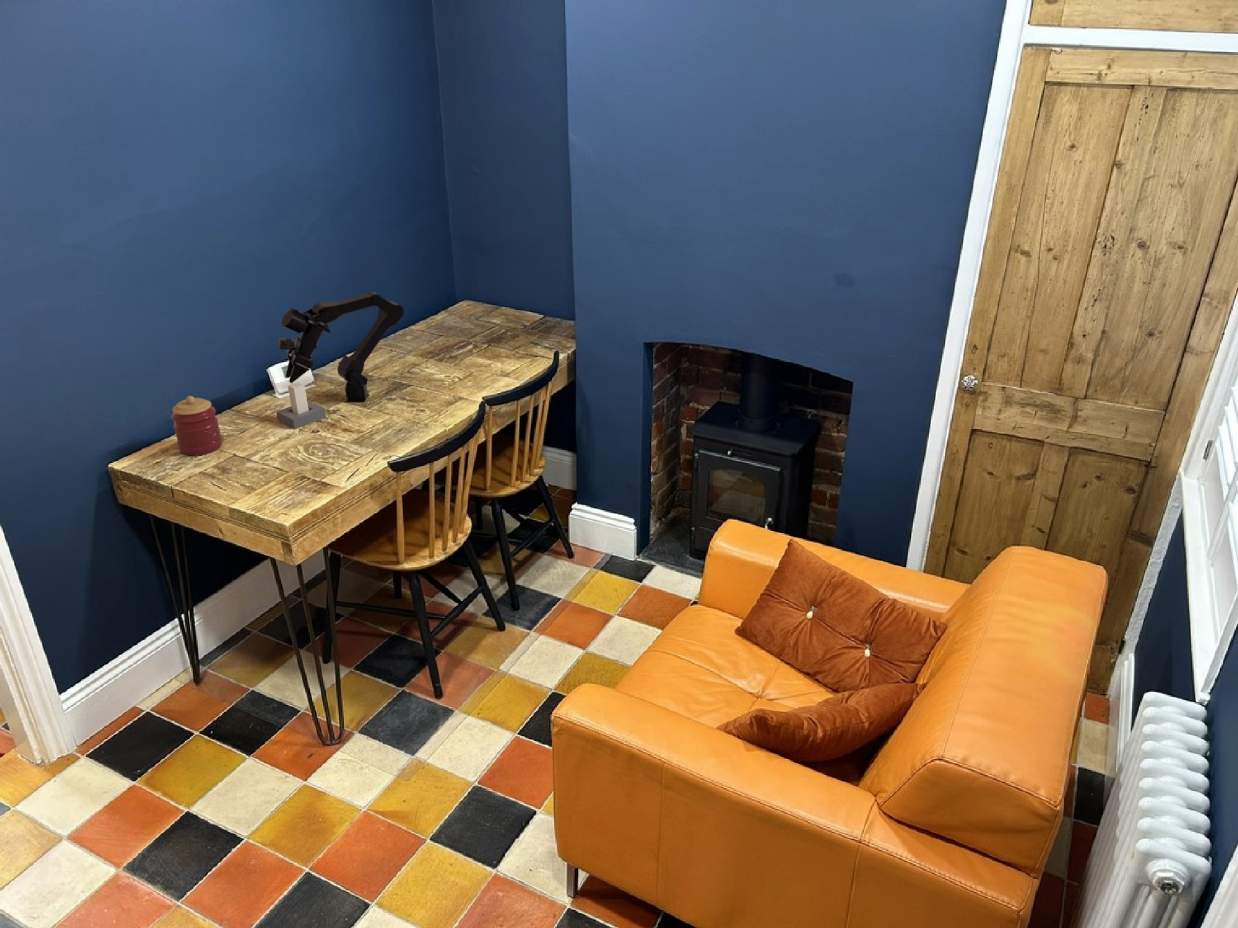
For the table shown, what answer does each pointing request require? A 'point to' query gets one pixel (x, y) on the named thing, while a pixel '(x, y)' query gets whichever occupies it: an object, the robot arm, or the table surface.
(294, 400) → the light grey peg
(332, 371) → the table surface
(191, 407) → the canister
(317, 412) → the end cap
